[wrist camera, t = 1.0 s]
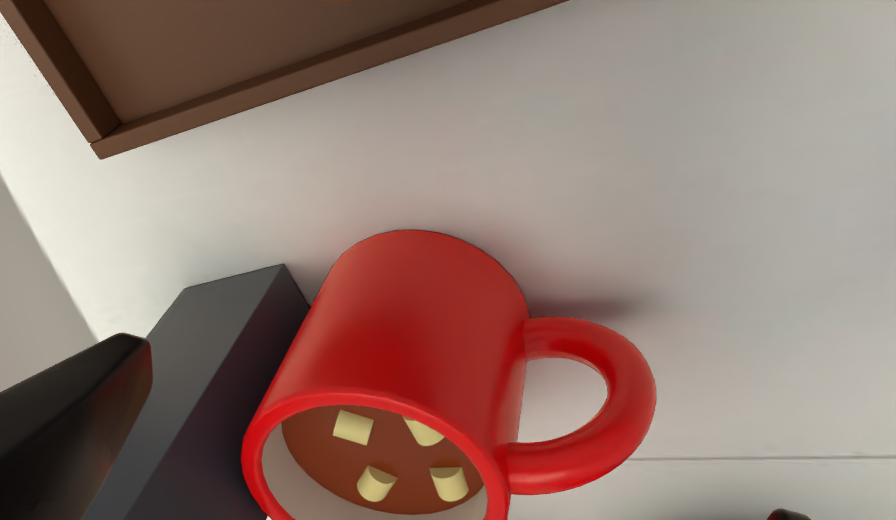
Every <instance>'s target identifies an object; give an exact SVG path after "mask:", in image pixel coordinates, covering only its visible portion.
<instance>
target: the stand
mask: <svg viewBox="0 0 896 520" xmlns="http://www.w3.org/2000/svg"><path fill="white" fill-rule="evenodd" d="M309 310H310V308H309V307H308V305H307V303H306V301H305V300H304V298H303V296H302V295H301V293H300V291H299V289H298V288H297V286H296V284H295V282H294V281H293V279H292V277H291V276H290V274H289V272H288V270H287V269H286V267H285V265H284V264H281V265H277V266H273V267H269V268H265V269H261V270H257V271H253V272H249V273H245V274H241V275H237V276H233V277H229V278H225V279H221V280H217V281H213V282H209V283H205V284H201V285H197V286H193V287H189V288H185V289H183V291H182V292H181V293H180V295H179V296H178V297H177V298H176V300H175V301H174V302H173V304H172V305H171V306H170V307H169V309H168V310H167V311H166V312H165V314H164V315H163V316H162V318H161V319H160V320H159V321H158V323H157V324H156V325H155V327H154V328H153V329H152V330H151V332H150V333H149V334H148V336H147V337H146V338H145V339H147V340H148V341H149V342H150V345H151V355H152V372H153V383H152V388H151V391H150V394H149V396H148V398H147V400H146V402H145V404H144V406H143V408H142V410H141V412H140V414H139V416H138V418H137V420H136V422H135V424H134V426H133V428H132V430H131V432H130V433H129V435H128V437H127V439H126V441H125V443H124V445H123V447H122V449H121V451H120V453H119V455H118V457H117V459H116V461H115V463H114V465H113V467H112V469H111V471H110V473H109V474H108V476H107V478H106V480H105V482H104V484H103V486H102V487H101V489H100V491H99V492H98V494H97V496H96V497H95V499H94V500H93V502H92V504H91V505H90V507H89V508H88V510H87V511H86V513H85V514H84V516H83V517H82V519H81V520H266V519H267V516H268V515H267V514H266V513H265V512H264V511H263V510H262V509H261V507H260V506H259V504H258V503H257V501H256V500H255V498H254V497H253V495H252V494H251V493H250V490H249V488H248V486H247V483H246V481H245V478H244V476H243V472H242V465H241V449H242V441H243V437H244V435H245V433H246V430H247V428H248V426H249V424H250V422H251V420H252V418H253V416H254V414H255V413H256V411H257V409H258V407H259V405H260V403H261V401H262V399H263V397H264V395H265V394H266V392H267V390H268V388H269V386H270V384H271V382H272V380H273V378H274V376H275V374H276V373H277V371H278V369H279V367H280V365H281V363H282V361H283V359H284V357H285V355H286V353H287V352H288V350H289V348H290V346H291V344H292V342H293V340H294V338H295V336H296V334H297V332H298V331H299V329H300V327H301V325H302V323H303V321H304V319H305V317H306V315H307V313H308V311H309Z"/></svg>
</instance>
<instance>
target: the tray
mask: <svg viewBox="0 0 896 520" xmlns="http://www.w3.org/2000/svg"><path fill="white" fill-rule="evenodd" d="M566 1H569V0H349V1H324V0H0V12H1V14H2V15H3V16H4V18H5V19H6V21H7V22H8V24H9V25H10V27H11V28H12V30H13V31H14V33H15V34H16V36H17V37H18V39H19V40H20V42H21V43H22V45H23V46H24V48H25V49H26V51H27V52H28V54H29V55H30V57H31V58H32V60H33V61H34V63H35V64H36V66H37V67H38V69H39V70H40V72H41V73H42V75H43V76H44V77H45V79H46V80H47V82H48V83H49V85H50V86H51V88H52V89H53V91H54V92H55V94H56V95H57V97H58V98H59V100H60V101H61V103H62V104H63V106H64V107H65V109H66V110H67V112H68V113H69V115H70V116H71V118H72V119H73V121H74V122H75V124H76V125H77V127H78V128H79V130H80V131H81V133H82V134H83V136H84V137H85V139H86V140H87V141H88V142H89V143H91V144H90V146H91V147H92V149H93V150H94V152H95V153H96V155H97V156H98V158H99V159H105V158H108V157H111V156H114V155H116V154H119V153H122V152H125V151H128V150H131V149H134V148H137V147H140V146H143V145H146V144H149V143H152V142H155V141H158V140H161V139H164V138H166V137H169V136H172V135H175V134H178V133H181V132H184V131H187V130H190V129H193V128H196V127H199V126H202V125H205V124H208V123H211V122H214V121H216V120H219V119H222V118H225V117H228V116H231V115H234V114H237V113H240V112H243V111H246V110H249V109H252V108H255V107H258V106H261V105H263V104H266V103H269V102H272V101H275V100H278V99H281V98H284V97H287V96H290V95H293V94H296V93H299V92H302V91H305V90H308V89H311V88H313V87H316V86H319V85H322V84H325V83H328V82H331V81H334V80H337V79H340V78H343V77H346V76H349V75H352V74H355V73H358V72H360V71H363V70H366V69H369V68H372V67H375V66H378V65H381V64H384V63H387V62H390V61H393V60H396V59H399V58H402V57H405V56H408V55H410V54H413V53H416V52H419V51H422V50H425V49H428V48H431V47H434V46H437V45H440V44H443V43H446V42H449V41H452V40H455V39H458V38H460V37H463V36H466V35H469V34H472V33H475V32H478V31H481V30H484V29H487V28H490V27H493V26H496V25H499V24H502V23H505V22H507V21H510V20H513V19H516V18H519V17H522V16H525V15H528V14H531V13H534V12H537V11H540V10H543V9H546V8H549V7H552V6H555V5H557V4H560V3H563V2H566Z"/></svg>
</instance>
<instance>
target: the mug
mask: <svg viewBox="0 0 896 520" xmlns="http://www.w3.org/2000/svg"><path fill="white" fill-rule="evenodd" d="M541 358H565V359H571V360H575V361H578V362H581V363H583V364H585V365H587V366H589V367H591V368H593V369H594V370H595V371H597V372H598V373H599V374H600V375H601V376H602V377H603V378H604V380H605V381H606V385H607V391H608V395H607V399H606V401H605V403H604V405H603V406H602V408H601V409H600V411H599V412H598V413H597V414H596V415H595V417H594V418H592V419H591V420H590V421H589V422H588V423H587V424H585V425H584V426H582V427H581V428H579V429H577V430H576V431H574V432H572V433H570V434H567V435H565V436H562V437H559V438H556V439H552V440H548V441H543V442H534V443H519V442H517V439H518V431H519V422H520V413H521V405H522V396H523V388H524V379H525V371H526V362H527V361H529V360H534V359H541ZM655 405H656V385H655V380H654V377H653V375H652V372H651V370H650V367H649V366H648V364H647V362H646V360H645V358H644V357H643V355H642V354H641V352H640V351H639V350H638V349H637V348H636V346H635V345H634V344H633V343H631V342H630V341H629V340H628V339H627V338H625V337H624V336H622V335H621V334H619V333H617V332H616V331H614V330H612V329H609V328H607V327H605V326H602V325H599V324H596V323H593V322H590V321H587V320H582V319H578V318H570V317H558V316H549V317H535V318H529V310H528V307H527V305H526V302H525V299H524V296H523V294H522V292H521V290H520V289H519V287H518V285H517V284H516V282H515V281H514V279H513V278H512V276H511V275H510V274H509V273H508V272H507V271H506V270H505V269H504V268H503V267H502V266H501V265H500V264H499V263H498V262H497V261H496V260H494V259H493V258H492V257H490V256H489V255H488V254H486V253H485V252H484V251H482V250H481V249H479V248H477V247H475V246H473V245H471V244H469V243H467V242H465V241H463V240H460V239H457V238H454V237H451V236H448V235H444V234H441V233H436V232H428V231H421V230H401V231H392V232H387V233H383V234H378V235H375V236H372V237H370V238H368V239H365V240H363V241H361V242H358V243H357V244H355V245H354V246H353V247H351V248H350V249H349V250H347V251H346V252H344V253H343V254H342V255H341V257H340V258H339V259H338V260H337V261H336V262H335V264H334V265H333V266H332V268H331V269H330V271H329V273H328V275H327V277H326V279H325V281H324V283H323V285H322V287H321V289H320V290H319V292H318V294H317V296H316V298H315V300H314V302H313V304H312V306H311V308H310V310H309V311H308V313H307V315H306V317H305V319H304V321H303V323H302V325H301V327H300V329H299V331H298V332H297V334H296V336H295V338H294V340H293V342H292V344H291V346H290V348H289V350H288V352H287V353H286V355H285V357H284V359H283V361H282V363H281V365H280V367H279V369H278V371H277V373H276V374H275V376H274V378H273V380H272V382H271V384H270V386H269V388H268V390H267V392H266V394H265V395H264V397H263V399H262V401H261V403H260V405H259V407H258V409H257V411H256V413H255V414H254V416H253V418H252V420H251V422H250V424H249V426H248V428H247V430H246V433H245V435H244V437H243V441H242V449H241V465H242V472H243V476H244V478H245V481H246V483H247V486H248V488H249V490H250V493H251V494H252V495H253V497H254V498H255V500H256V501H257V503H258V504H259V506H260V507H261V509H262V510H263V511H264V512H265V513H266V514H267V515H268V516H269V517H270V518H271V519H272V520H507V518H508V512H509V506H510V499H511V494H516V495H539V494H550V493H555V492H561V491H566V490H569V489H573V488H576V487H579V486H582V485H585V484H587V483H589V482H592V481H594V480H596V479H598V478H600V477H602V476H604V475H605V474H607V473H609V472H611V471H612V470H613V469H615V468H616V467H618V466H619V465H620V464H622V463H623V462H624V461H625V460H626V459H627V458H628V457H629V456H630V455H631V454H632V453H633V452H634V451H635V450H636V449H637V447H638V446H639V445H640V444H641V442H642V441H643V439H644V437H645V435H646V434H647V432H648V429H649V427H650V424H651V422H652V418H653V415H654V411H655Z"/></svg>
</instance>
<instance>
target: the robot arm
mask: <svg viewBox="0 0 896 520" xmlns="http://www.w3.org/2000/svg"><path fill="white" fill-rule="evenodd" d="M152 383H153V372H152V355H151V345H150V342H149V341H148V340H147V339H145V338H142V337H138V336H135V335H131V334H127V333H118V334H115V335H113V336H111V337H109V338H107V339H105V340H103V341H101V342H99V343H97V344H95V345H93V346H91V347H89V348H87V349H85V350H83V351H81V352H79V353H77V354H76V355H73V356H72V357H69V358H67V359H65V360H63V361H62V362H60V363H58V364H55V365H54V366H52V367H50V368H48V369H46V370H44V371H42V372H40V373H38V374H36V375H34V376H32V377H30V378H28V379H26V380H24V381H22V382H20V383H18V384H16V385H14V386H12V387H10V388H8V389H6V390H4V391H2V392H0V520H81V519H82V517H83V516H84V514H85V513H86V511H87V510H88V508H89V507H90V505H91V504H92V502H93V500H94V499H95V497H96V496H97V494H98V492H99V491H100V489H101V487H102V486H103V484H104V482H105V480H106V478H107V476H108V474H109V473H110V471H111V469H112V467H113V465H114V463H115V461H116V459H117V457H118V455H119V453H120V451H121V449H122V447H123V445H124V443H125V441H126V439H127V437H128V435H129V433H130V432H131V430H132V428H133V426H134V424H135V422H136V420H137V418H138V416H139V414H140V412H141V410H142V408H143V406H144V404H145V402H146V400H147V398H148V396H149V394H150V391H151V388H152ZM767 520H811V519H810V518H809V517H808V516H806V515H804V514H800V513H797V512H793V511H789V510H785V509H777V510H775V511H773V512H772V513H771V515H770V516H769V517H768V519H767Z"/></svg>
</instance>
